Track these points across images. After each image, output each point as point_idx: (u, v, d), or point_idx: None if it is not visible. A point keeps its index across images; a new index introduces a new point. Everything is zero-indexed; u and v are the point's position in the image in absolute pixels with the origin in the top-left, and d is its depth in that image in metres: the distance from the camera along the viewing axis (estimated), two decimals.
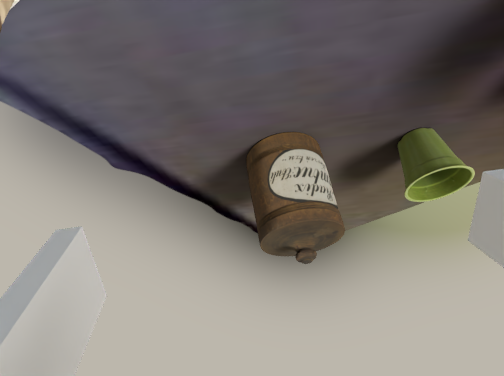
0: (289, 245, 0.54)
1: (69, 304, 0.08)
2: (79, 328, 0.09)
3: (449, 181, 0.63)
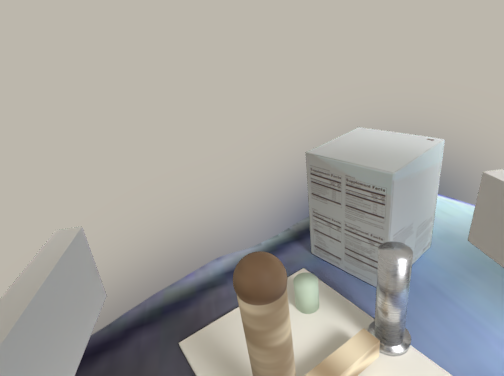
0: None
1: (69, 304, 0.08)
2: (79, 328, 0.09)
3: None
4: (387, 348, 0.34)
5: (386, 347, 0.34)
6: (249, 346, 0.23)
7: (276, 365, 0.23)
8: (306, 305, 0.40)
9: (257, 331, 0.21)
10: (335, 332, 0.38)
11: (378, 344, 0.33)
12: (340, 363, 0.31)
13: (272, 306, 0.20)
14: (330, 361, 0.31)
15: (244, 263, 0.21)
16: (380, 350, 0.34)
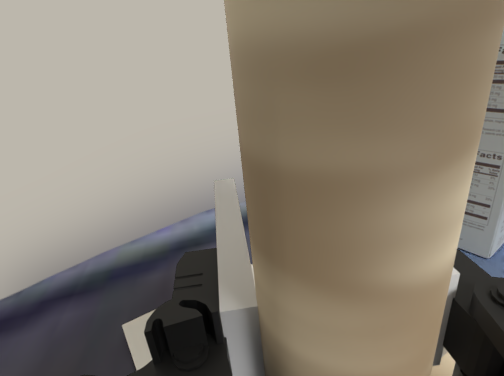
0: None
1: None
2: None
3: None
4: None
5: None
6: (270, 292, 0.05)
7: None
8: None
9: (330, 179, 0.04)
10: None
11: None
12: None
13: None
14: (443, 375, 0.13)
15: None
16: None
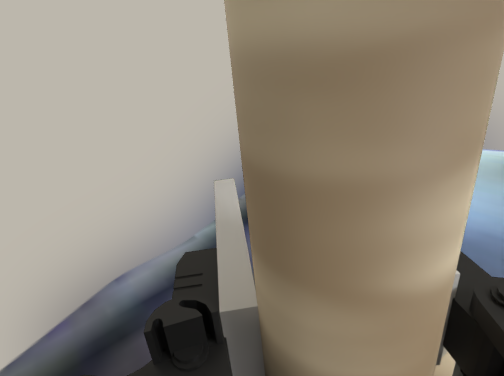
0: None
1: None
2: None
3: None
4: None
5: None
6: (272, 299, 0.05)
7: None
8: None
9: (334, 188, 0.04)
10: None
11: None
12: None
13: None
14: None
15: None
16: None
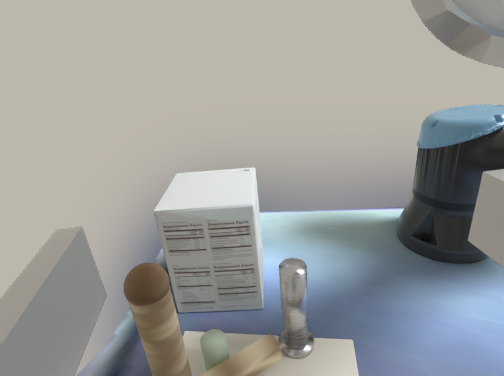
0: None
1: (69, 304, 0.08)
2: (79, 328, 0.09)
3: None
4: (303, 351, 0.39)
5: (302, 351, 0.39)
6: (141, 340, 0.28)
7: (161, 357, 0.28)
8: None
9: (142, 327, 0.27)
10: None
11: (279, 347, 0.38)
12: (241, 361, 0.36)
13: (151, 307, 0.26)
14: (233, 359, 0.36)
15: (132, 271, 0.26)
16: (300, 356, 0.39)
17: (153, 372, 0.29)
